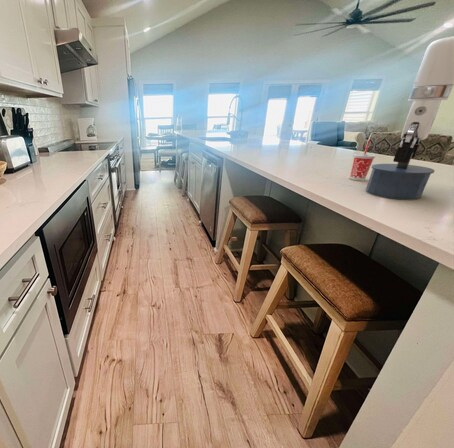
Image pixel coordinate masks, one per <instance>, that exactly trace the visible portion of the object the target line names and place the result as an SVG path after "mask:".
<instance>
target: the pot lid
mask: <svg viewBox="0 0 454 448" xmlns="http://www.w3.org/2000/svg"><path fill="white" fill-rule="evenodd" d="M412 154H413V153H412ZM411 157H412V155H411ZM411 159H412V158H410V160H409V162H408V163H403V162H397V163H375V164H371V169H375V170H379V171H383V172H390V173H398V174H414V175H422V174H434V173H435V169H433V168H431V167H427V166H421V165H415V164H410V162H411Z"/></svg>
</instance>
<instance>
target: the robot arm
mask: <svg viewBox="0 0 454 448" xmlns="http://www.w3.org/2000/svg"><path fill="white" fill-rule="evenodd" d="M453 88H454V35H452V36H447V37H443V38H439V39H436V40H433V41H432V42H431V43H429V44H428V45H427V47H426V50H425V52H424V54H423V58H422V60H421V63H420V66H419V68H418V71H417V73H416V76H415V79H414V82H413V85H412V88H411V90H410V93H409V96H408V97H407V102H411V105H410V108H409V111H408V114H407V116H406V119H405V122H404V125H403V128H402V130H401V135H400V139H401V141H400V144H399V146H398V147H397V150H396V152H395V155H394V158H393V160H392V161H393V162H394V163H398V162H403V163H408V162H409V160H410V158H411V159H414V158H415V156H416V153H417V151H418V149H419V146H420V141H424V140H426V139H427V138H428V137H429V135H430V132H431V129H432V127H433V124H434V122H435V121H436V120H435V119H436V117H437V115H438V112H439V109H440V107H441V104H442V103H441V102H442V101H448V100H449V97H450V95H451V93H452V90H453ZM412 153H413V154H412ZM411 155H412V157H411ZM410 161H411V160H410ZM409 163H410V162H409Z"/></svg>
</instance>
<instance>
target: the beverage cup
mask: <svg viewBox="0 0 454 448" xmlns="http://www.w3.org/2000/svg"><path fill="white" fill-rule="evenodd" d="M370 142H371V141H370V140H368V141H367V143H366V146H365V149H364V153H355V154H353V162H352V166H351V170H350V175H349V180H353V181H359V182H361V181H366V178H367V175H368V173H369V171H370V168H371V167H372V165H373V164H372V163H373V161H374V159H375V158H376V155H375V154H370V153H368V152H367V151H368V148H369V145H370Z"/></svg>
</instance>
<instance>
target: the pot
mask: <svg viewBox="0 0 454 448" xmlns="http://www.w3.org/2000/svg"><path fill="white" fill-rule="evenodd" d="M371 169H372V170H371V172H370V176H369V179H368V181H367V185H366V188H365V191H366V192H367V194H369V195H373V196H376V197H380V198H385V199H390V200H391V199H392V200H402V201H406V200H407V201H413V200H414V201H415V200H419V199H420V198H421V197H422V195H423V193H424V191H425V188H426V186H427V184H428V182H429V180H430V177H431V174H422V175H414V174H398V173H390V172H383V171H379V170H375V169H373V168H371Z"/></svg>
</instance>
